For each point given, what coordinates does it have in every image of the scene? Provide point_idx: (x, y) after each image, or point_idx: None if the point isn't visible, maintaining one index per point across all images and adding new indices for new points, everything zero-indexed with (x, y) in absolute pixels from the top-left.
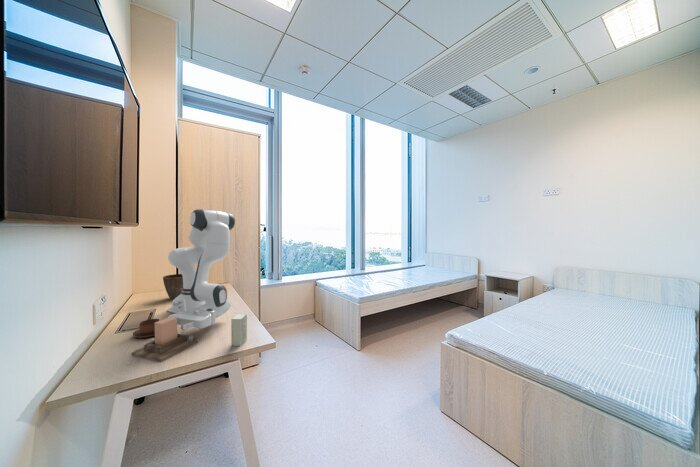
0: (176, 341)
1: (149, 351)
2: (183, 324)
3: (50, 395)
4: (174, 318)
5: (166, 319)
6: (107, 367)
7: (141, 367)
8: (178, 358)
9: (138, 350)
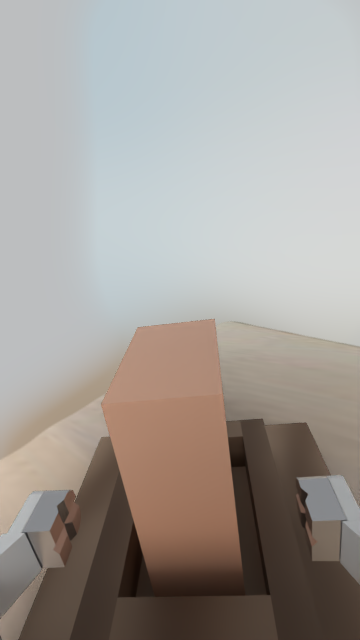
0: (108, 523)
1: None
2: (56, 514)
3: (243, 323)
4: (119, 388)
5: (184, 358)
6: (273, 377)
7: None
8: (38, 489)
9: (300, 440)
